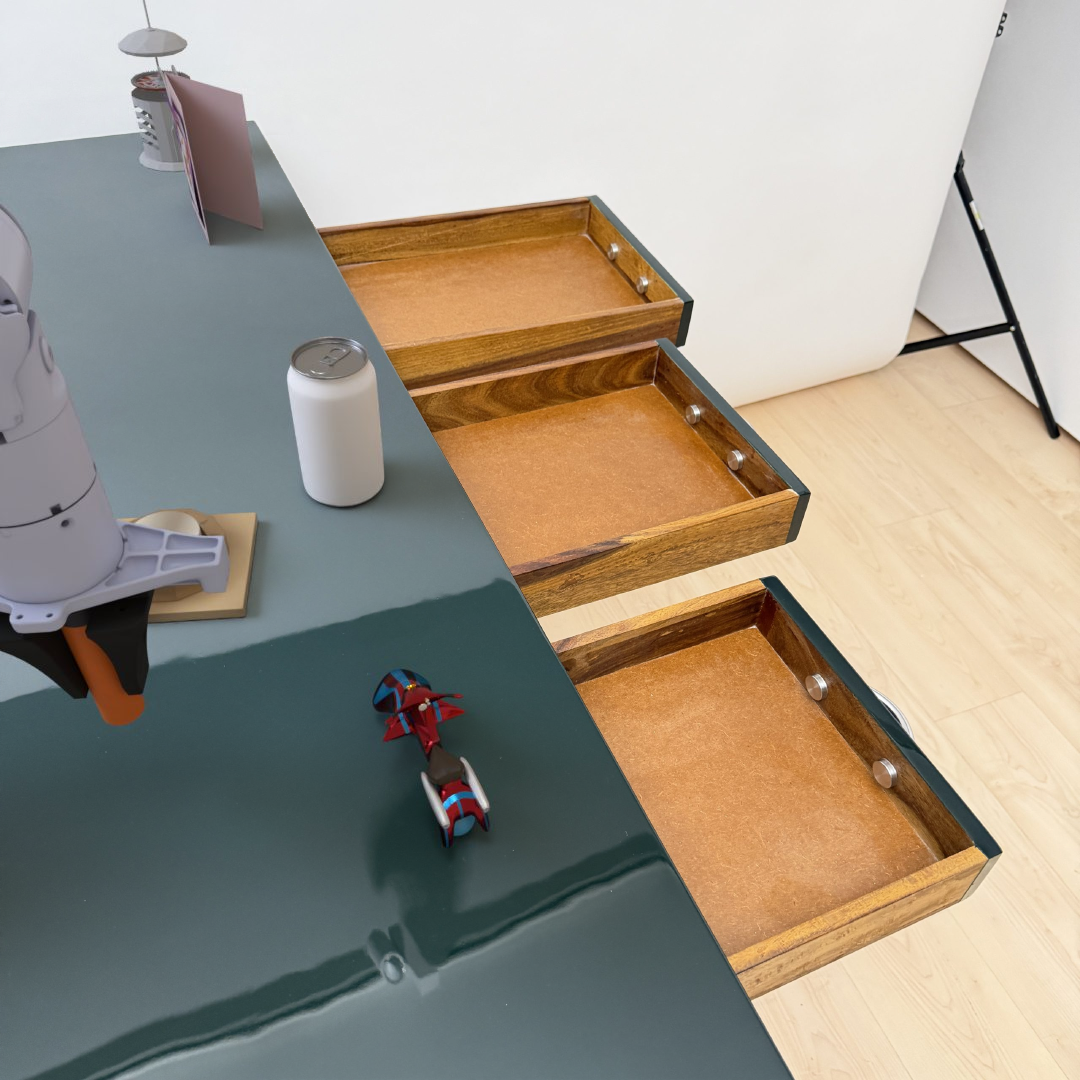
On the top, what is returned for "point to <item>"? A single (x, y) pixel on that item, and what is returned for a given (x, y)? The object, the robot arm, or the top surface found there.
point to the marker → (100, 673)
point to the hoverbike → (433, 751)
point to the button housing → (191, 598)
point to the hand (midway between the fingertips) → (111, 681)
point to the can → (336, 420)
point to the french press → (155, 96)
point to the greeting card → (215, 150)
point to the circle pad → (172, 522)
